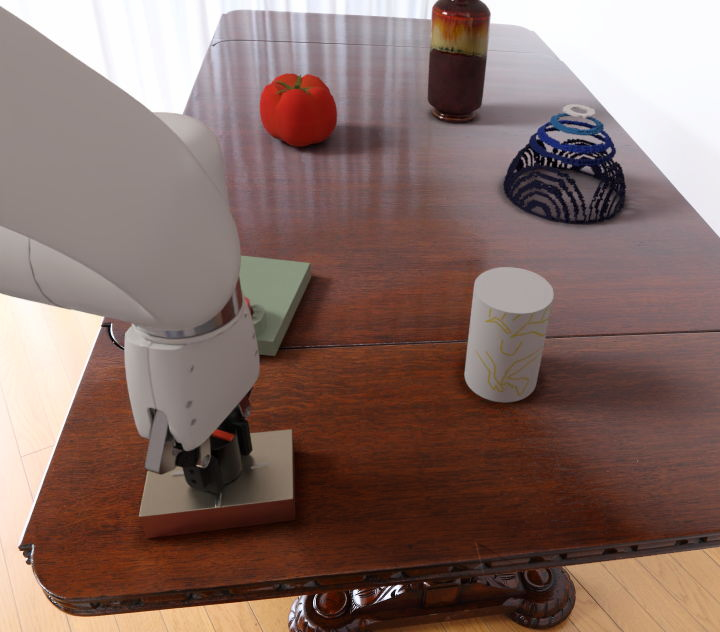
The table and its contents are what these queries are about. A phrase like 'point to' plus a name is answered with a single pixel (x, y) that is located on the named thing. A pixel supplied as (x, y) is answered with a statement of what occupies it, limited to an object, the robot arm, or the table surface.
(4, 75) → the robot arm
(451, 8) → the vase
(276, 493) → the panel
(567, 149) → the decorative bowl
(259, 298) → the switch box
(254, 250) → the table surface
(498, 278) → the white patterned cylinder
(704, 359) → the table surface
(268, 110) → the tomato
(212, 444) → the hob knob
